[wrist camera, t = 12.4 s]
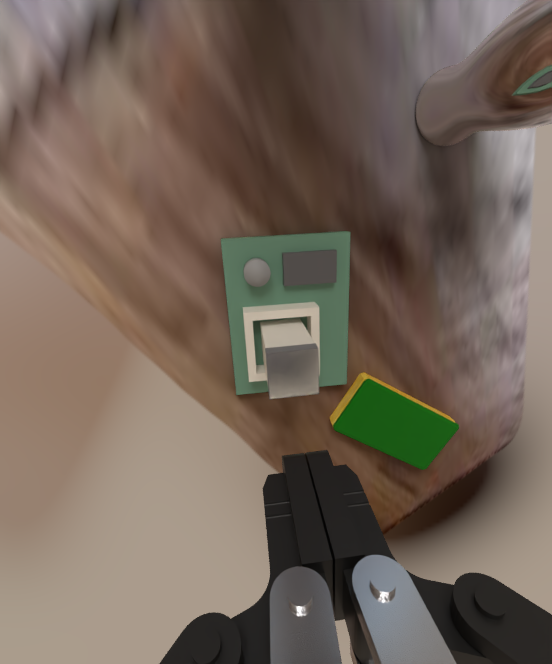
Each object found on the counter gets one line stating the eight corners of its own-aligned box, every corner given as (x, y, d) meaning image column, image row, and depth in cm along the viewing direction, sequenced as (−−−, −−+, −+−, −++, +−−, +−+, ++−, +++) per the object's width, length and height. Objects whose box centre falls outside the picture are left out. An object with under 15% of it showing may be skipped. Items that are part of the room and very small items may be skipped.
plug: (259, 321, 34) (266, 353, 26) (300, 317, 34) (318, 348, 27) (262, 359, 35) (269, 399, 28) (301, 355, 36) (319, 393, 28)
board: (221, 238, 32) (219, 241, 29) (346, 231, 33) (357, 233, 30) (236, 389, 37) (236, 405, 34) (343, 378, 38) (352, 393, 35)
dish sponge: (360, 369, 39) (368, 378, 37) (449, 415, 42) (461, 426, 40) (326, 417, 41) (332, 429, 38) (415, 458, 44) (424, 471, 42)
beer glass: (476, 152, 32) (666, 107, 18) (405, 151, 31) (544, 105, 17) (492, 62, 30) (724, -71, 16) (415, 59, 29) (586, -83, 15)
